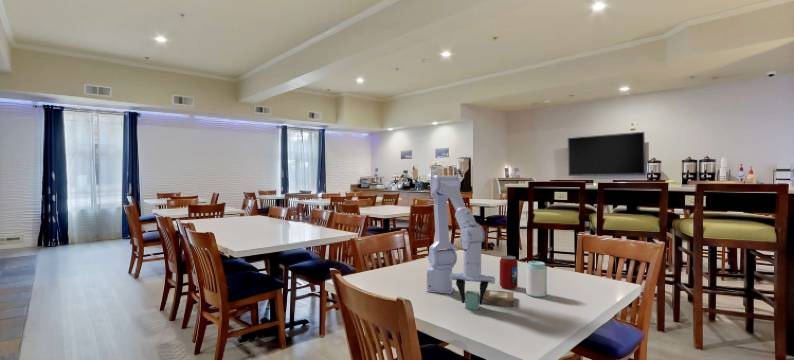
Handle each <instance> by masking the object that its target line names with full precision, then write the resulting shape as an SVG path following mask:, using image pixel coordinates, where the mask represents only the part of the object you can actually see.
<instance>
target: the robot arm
mask: <svg viewBox="0 0 794 360" xmlns="http://www.w3.org/2000/svg"><path fill="white" fill-rule="evenodd" d="M429 186H430V187H429V188H430V198H432V199H433V215H434V231H435V233H434V234H435V235H434V236H435V242H433V243H432V244H431V245H430V246H429V248H428V249H429V251H428V254H427V255H428V256H427V258H428V263H429V265H430V266H429V265H428V267H427V269H426V292H427V293H438V294H439V293H441V294H453V292H454V290H455V286H453V281H456V282H455V285H456V287H457V289H458V292H459V294H460V298H461V303H462V304H465V294H466V291H465V289H466V282H475V283H479V306H482V305H483V296H484V293H485V291H486V290H488V285H489V284H492V285H494V284H496V276H492V275H486V274H482V243H484V241H485V240H486V239H485V238H486V232H485V230H484V229H485V228H484V227H483V226H482V225H481V224H479V222H478V223H477V222H476V219H475V217H474V215H473V212H472V210H471V209H470V208H469V207H466V204H465V202H464V199H463V196H462V194H461V191H460V189H461V181H460V177H459V176H458V175H456V174H455V175H441V174H440V175H437V174H435V175H433V176H432V177H431V180H430V183H429ZM448 199H449V201H450V203H451V204H452V206H453V208H454V209H455V214H454V218H455V220H456V223H457V224H458V226H459V229H460V234H459V238H460V240H461V241H460V242H461V247H462V249H463V273H461V272H460V273H459V272H458V273H453V268H454V267H455V265H456V263H457V262H458V261H457V260H458V254H457V252H456V246H455V245H454V244H453V243H452V242H451V241H450V233H449V215H448V213H449V212H448Z"/></svg>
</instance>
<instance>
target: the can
mask: <svg viewBox="0 0 794 360" xmlns="http://www.w3.org/2000/svg"><path fill="white" fill-rule="evenodd" d="M527 263H528V264H526V267H525V269H526V271H525V272H526V273H525V275H526V276H525V277H526V278H525V279H526V280H525V283H526V284H525V288H526V289H525V293H526V294H527V295H528V296H530V297H532V298H544V297H545V296H547V294H548V293H547V291H548V290H547V285H548V284H547V282H548V279H547V278H548V277H547V275H548V273H547V272H548V269H547V266H546V263H545V262H543V261H539V260H536V261H535V260H532V261H531V260H530V261H528V262H527Z"/></svg>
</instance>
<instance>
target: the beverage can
mask: <svg viewBox="0 0 794 360" xmlns="http://www.w3.org/2000/svg"><path fill="white" fill-rule="evenodd" d="M518 265H519V264H518V260H517V258H516V256H513V255H501V258H500V260H499V286H500V287H501V288H502V289H504V290H514V289H516V288H517V287H518V280H519V279H518V278H519V276H518V272H519V271H518Z"/></svg>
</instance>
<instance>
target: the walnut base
mask: <svg viewBox="0 0 794 360" xmlns="http://www.w3.org/2000/svg"><path fill="white" fill-rule="evenodd" d="M482 305H493V306H504V307H514V292H513V291H503V290H491V289H486V291H485V293H484V296H483V301H482Z"/></svg>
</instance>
